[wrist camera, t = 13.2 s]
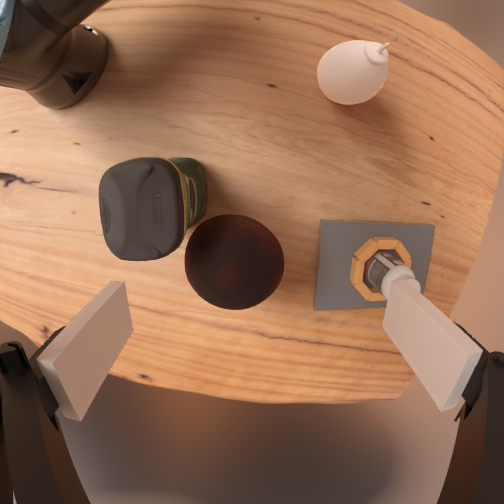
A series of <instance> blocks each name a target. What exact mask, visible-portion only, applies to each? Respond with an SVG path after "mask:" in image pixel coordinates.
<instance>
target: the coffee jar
mask: <svg viewBox="0 0 504 504" xmlns="http://www.w3.org/2000/svg"><path fill="white" fill-rule="evenodd" d="M206 205H207V186H206V178H205V172H204V169H203V167H202V165H201V164H200V163H199V162H198V161H196V160H194V159H191V158H171V159H165V158H162V157H153V156H150V157H139V158H133V159H129V160H126V161H124V162H122V163H119V164H116V165H114V166H113V167H111V168H109V169H108V170H107V171H106V172H105V173H104V175H103V176H102V178H101V181H100V185H99V207H100V216H101V223H102V228H103V234H104V238H105V241H106V244H107V246H108V247H109V249H110V250H111V252H112V253H113V254H114V255H115V256H116V257H118V258H119V259H121V260H128V261H148V260H156V259H160V258H163V257H165V256H167V255H169V254H170V253H172V252H173V251H175V250H176V249H177V248H178V247H179V246H180V245H181V243H182V241H183V239H184V237H185V234H186V231H187V229H188V228H190V227H191V226H193V225H195V224H196V223H198V222H199V221H200V220H201V219H202V218H203V216H204V214H205V212H206Z"/></svg>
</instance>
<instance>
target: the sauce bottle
mask: <svg viewBox="0 0 504 504" xmlns="http://www.w3.org/2000/svg"><path fill="white" fill-rule="evenodd" d="M389 45H390V43H386V44H384V45H382V44H380V43H378V42H369V41H364V40H353V41H347V42H343V43H340V44H338V45H336V46H334V47H332V48H331V49H329V50H328V51H327V52H326V53H325V54H324V55H323V57H322V58H321V60H320V62H319V64H318V68H317V80H318V84H319V87H320V89H321V91H322V92H323V94H324V95H325V96H326V97H327V98H328V99H330V100H331V101H333V102H336V103H339V104H344V105H352V104H359V103H362V102H365V101H367V100H369V99H371V98H372V97H374V96H375V95H376V94H377V93H378V92H379V91H380V90H381V89H382V87H383V86H384V84H385V81H386V79H387V76H388V70H389V66H388V58H389V55H388V52H387V50H386V48H387V47H388V46H389Z"/></svg>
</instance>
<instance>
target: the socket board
mask: <svg viewBox="0 0 504 504" xmlns="http://www.w3.org/2000/svg"><path fill="white" fill-rule="evenodd" d="M434 228H435V226H434V225H431V224H416V223H396V222H373V221H344V220H320V232H319V247H318V261H317V273H316V284H315V295H314V305H313V307H314V310H338V309H357V308H373V307H386V306H387V301H388V300H387V299H386V298H384V296H383V295H382V294H381V293H380V292H379V291H378V290H377V289H376V288H375V287H374V286H373V285H372V284H371V283H370V282H369V281H368V279H367V278H366V275H365V267H366V264H367V262H368V260H369V258H370V257H372V256H373V255H374V254H376V253H378V252H386V253H389V254H390V255H392V256H393V257H395V258H396V259H397V260H399V261H400V262H402V263H403V264H405V265H406V266H407V267H409V268H410V269H411V270H412V271H413V273H414V275H415V279H416V280H417V281H418V282H419V284H420V287H421V291H420V293H421V294H422V295H423V290H424V286H425V281H426V276H427V271H428V266H429V261H430V255H431V249H432V242H433V235H434Z"/></svg>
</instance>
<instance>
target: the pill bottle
mask: <svg viewBox="0 0 504 504" xmlns="http://www.w3.org/2000/svg"><path fill="white" fill-rule="evenodd" d="M365 275H366V278H367V279H368V281H369V282H370V283H371V284H372V285H373V286H374V287H375V288H376V289H377V290H378V291H379V292H380V293H381V294H382V295H383V296H384V298H386V299H387V300H388V296H389V291H390V285H391V280H401V279H404V280H405V281H406V282H408V283H409V284H410V285H411V286H412V287H414V288H415V289H416V290H417V291H418V292H419V293H420V291H421V287H420V284H419V282H418V281H417V280H416V279H415V275H414V273H413V271H412V270H411V269H410V268H409V267H407V266H406V265H405V264H403V263H402V262H400V261H399V260H397V259H396V258H395V257H393V256H392V255H390V254H389V253H386V252H378V253H376V254H374V255H373V256H372V257H370V258H369V260H368V262H367V264H366V267H365Z"/></svg>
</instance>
